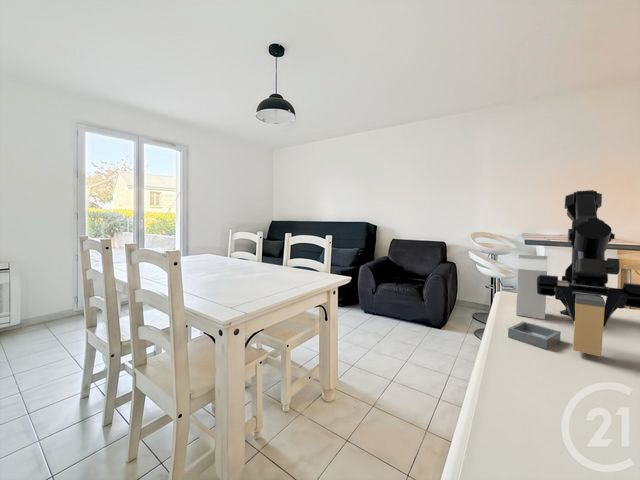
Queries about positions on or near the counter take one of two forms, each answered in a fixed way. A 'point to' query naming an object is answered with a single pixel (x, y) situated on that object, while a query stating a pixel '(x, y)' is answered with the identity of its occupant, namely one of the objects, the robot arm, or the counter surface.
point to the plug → (588, 324)
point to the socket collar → (534, 335)
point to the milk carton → (530, 286)
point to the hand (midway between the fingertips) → (588, 322)
